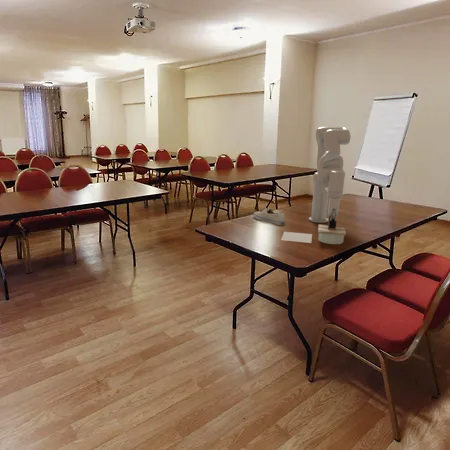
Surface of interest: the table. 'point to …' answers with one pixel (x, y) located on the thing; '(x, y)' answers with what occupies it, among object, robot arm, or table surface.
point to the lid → (331, 229)
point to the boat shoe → (270, 216)
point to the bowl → (331, 238)
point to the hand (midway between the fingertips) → (332, 225)
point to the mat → (297, 237)
